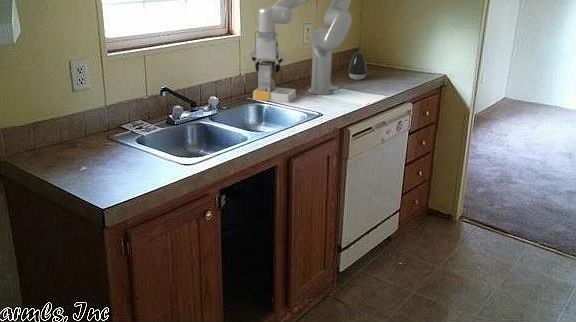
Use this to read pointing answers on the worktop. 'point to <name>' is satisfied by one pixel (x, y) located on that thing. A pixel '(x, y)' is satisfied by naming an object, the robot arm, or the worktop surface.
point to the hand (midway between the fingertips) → (267, 71)
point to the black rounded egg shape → (357, 67)
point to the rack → (275, 95)
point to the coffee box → (266, 76)
